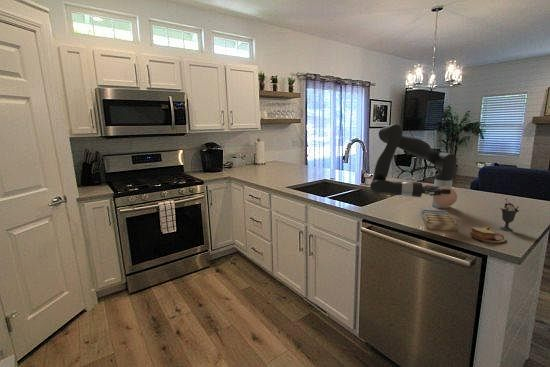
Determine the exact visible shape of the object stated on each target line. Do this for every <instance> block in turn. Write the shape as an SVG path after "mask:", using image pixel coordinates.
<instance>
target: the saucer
mask: <svg viewBox="0 0 550 367" xmlns="http://www.w3.org/2000/svg"><path fill="white" fill-rule="evenodd" d="M438 189H448V190H451V193H450V194H441V195H434V196H432V200H433V199H434V201H435V202H436V203H437V204H438V205H440V206H443V207H448V206H452V205H454V204H455V203H456V202H457V199H458V194H457V191H455V189H454V188H453V187H452V188H450V187H446V186H444V187H440V188H438ZM437 193H438V192H437Z"/></svg>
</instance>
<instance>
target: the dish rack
mask: <svg viewBox="0 0 550 367" xmlns="http://www.w3.org/2000/svg"><path fill="white" fill-rule="evenodd" d="M421 220H422V222H423V224H424V226H425V228H426V229H432V230H433V229H434V230H445V231H454V232H456V231H457V230H458V223H457V221H456V220H455V218H453V216H452V215H451V214H448V215H441V214H428V213H423V215H422V217H421Z"/></svg>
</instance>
